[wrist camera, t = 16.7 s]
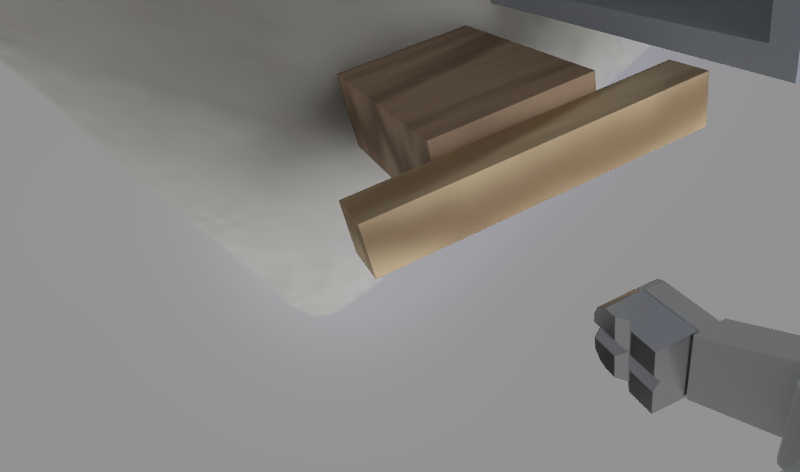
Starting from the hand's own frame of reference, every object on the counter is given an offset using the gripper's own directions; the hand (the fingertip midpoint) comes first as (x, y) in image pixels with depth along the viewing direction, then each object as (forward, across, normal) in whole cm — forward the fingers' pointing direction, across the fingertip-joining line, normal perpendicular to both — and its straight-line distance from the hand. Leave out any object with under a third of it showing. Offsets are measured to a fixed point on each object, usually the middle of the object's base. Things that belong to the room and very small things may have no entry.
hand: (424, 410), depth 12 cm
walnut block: (+36, -14, +9) cm, 39 cm away
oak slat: (+20, -14, +8) cm, 26 cm away
